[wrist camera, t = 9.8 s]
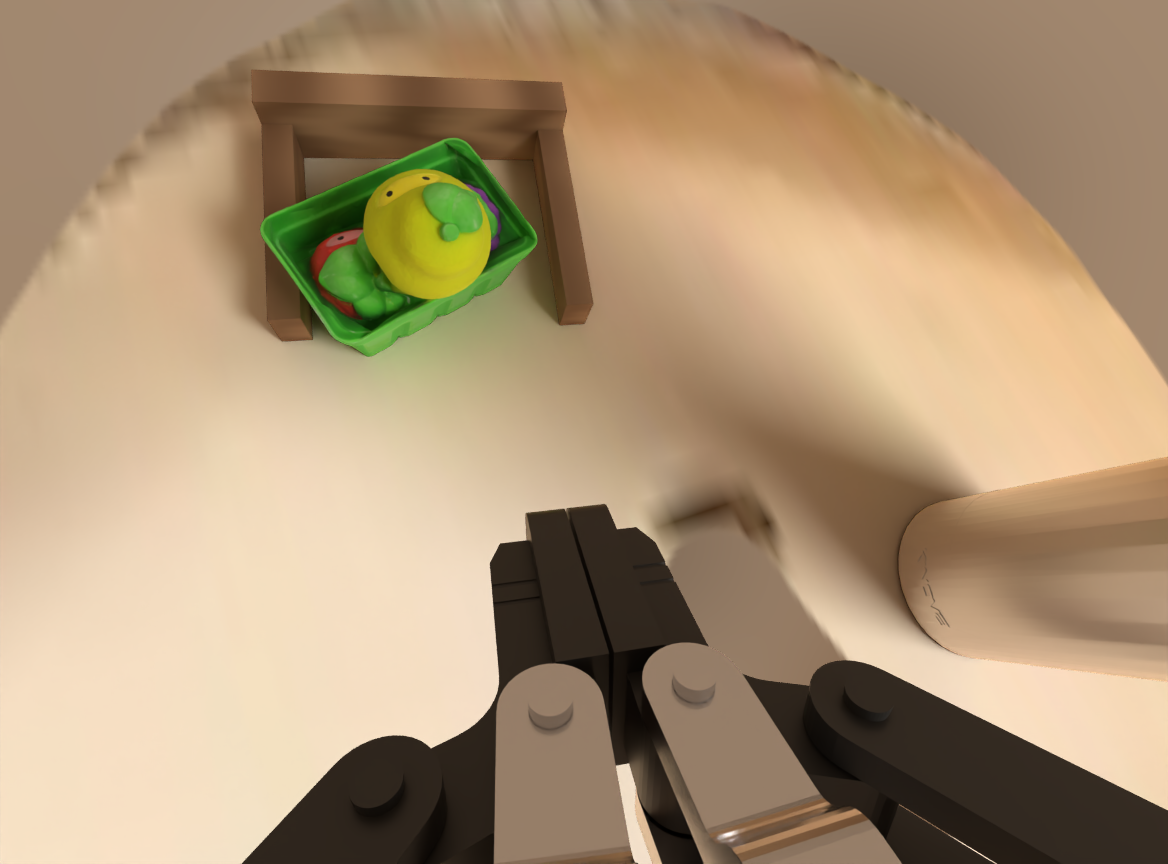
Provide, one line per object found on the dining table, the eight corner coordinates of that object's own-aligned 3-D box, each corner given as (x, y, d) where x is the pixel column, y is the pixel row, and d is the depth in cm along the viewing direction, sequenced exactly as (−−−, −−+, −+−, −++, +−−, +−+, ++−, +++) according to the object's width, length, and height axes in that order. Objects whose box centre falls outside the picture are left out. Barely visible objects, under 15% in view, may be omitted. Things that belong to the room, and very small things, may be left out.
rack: (551, 133, 38) (561, 82, 34) (584, 323, 35) (599, 290, 31) (274, 128, 34) (251, 69, 30) (282, 341, 31) (257, 305, 27)
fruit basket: (460, 193, 35) (459, 18, 25) (545, 306, 34) (583, 176, 24) (282, 278, 32) (192, 117, 21) (373, 407, 31) (326, 308, 20)
